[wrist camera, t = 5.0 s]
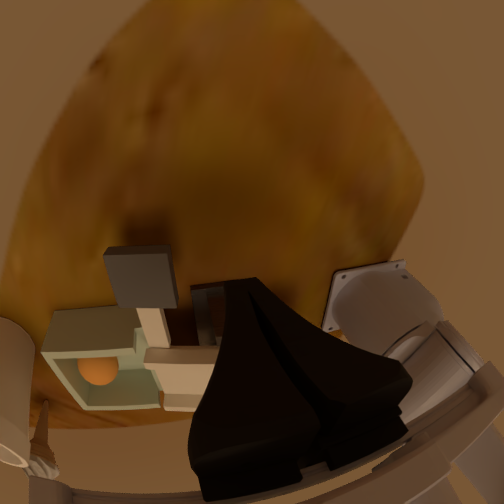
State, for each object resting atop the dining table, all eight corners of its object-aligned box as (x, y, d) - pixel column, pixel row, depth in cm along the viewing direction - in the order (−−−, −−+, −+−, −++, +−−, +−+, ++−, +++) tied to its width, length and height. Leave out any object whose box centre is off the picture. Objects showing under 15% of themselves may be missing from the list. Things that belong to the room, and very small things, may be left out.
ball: (99, 372, 18) (63, 361, 18) (115, 398, 20) (81, 386, 20) (117, 337, 22) (82, 329, 22) (130, 365, 24) (96, 357, 24)
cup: (145, 302, 22) (143, 346, 18) (165, 366, 27) (169, 406, 23) (54, 310, 20) (40, 352, 16) (88, 371, 25) (84, 409, 21)
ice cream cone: (56, 413, 28) (51, 504, 15) (23, 395, 25) (11, 489, 12) (70, 403, 27) (66, 505, 15) (35, 383, 24) (21, 489, 11)
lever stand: (238, 279, 23) (256, 325, 19) (240, 362, 29) (253, 403, 25) (190, 286, 23) (197, 334, 18) (203, 367, 28) (212, 410, 24)
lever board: (325, 225, 18) (353, 267, 14) (298, 368, 26) (308, 410, 22) (118, 232, 17) (90, 275, 13) (160, 372, 25) (154, 415, 21)
